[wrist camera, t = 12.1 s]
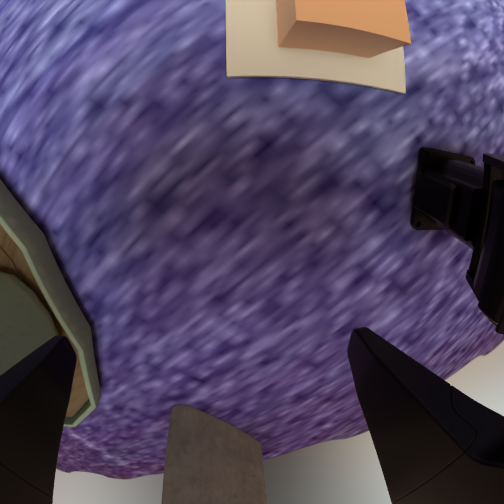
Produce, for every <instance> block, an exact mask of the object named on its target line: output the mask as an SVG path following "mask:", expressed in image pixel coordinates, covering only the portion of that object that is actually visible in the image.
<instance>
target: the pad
mask: <svg viewBox="0 0 504 504" xmlns="http://www.w3.org/2000/svg"><path fill="white" fill-rule="evenodd" d="M226 61H227V78H239V77H276V78H298V79H311V80H322V81H331V82H340V83H347V84H354V85H360V86H366V87H372V88H377V89H382V90H387V91H392V92H396V93H400V94H404V93H406V85H405V64H404V51H403V46H402V47H399V48H396V49H393V50H390V51H387V52H385V53H382V54H379V55H376V56H374V57H371V58H365V57H360V56H355V55H349V54H343V53H336V52H329V51H321V50H312V49H300V48H285V47H278V28H277V10H276V0H226Z"/></svg>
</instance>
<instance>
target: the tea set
mask: <svg viewBox="0 0 504 504" xmlns="http://www.w3.org/2000/svg"><path fill="white" fill-rule="evenodd" d="M56 335H62V336H66V337H67V338H68V339H69V341H70V343H71V345H72V347H73V349H74V351H75V352H76V355H77V362H76V367H75V372H74V378H73V384H72V390H71V395H70V400H69V405H68V409H67V413H66V417H65V422H64V426H68V427H76V426H77V425H78V424H79V423H80V422H81V421H82V420H83V419H84V418H85V417H86V416H87V415H88V414H90V413H91V412H92V411H93V410H94V409H95V408H96V407H97V405H98V402H99V399H100V396H101V393H100V385H99V380H98V374H97V369H96V363H95V356H94V349H93V342H92V334H91V327H90V325H89V323H88V322H87V320H86V318H85V317H84V315H83V313H82V311H81V310H80V308H79V306H78V304H77V303H76V301H75V299H74V297H73V295H72V293H71V291H70V289H69V288H68V286H67V284H66V282H65V280H64V278H63V276H62V274H61V271H60V269H59V267H58V265H57V263H56V261H55V259H54V256H53V254H52V252H51V250H50V247H49V245H48V243H47V240H46V238H45V235H44V233H43V232H42V231H41V230H40V229H39V227H38V226H37V225H36V224H35V223H34V222H33V220H32V219H31V218H30V217H29V216H28V214H27V213H26V212H25V211H24V209H23V208H22V207H21V206H20V204H19V203H18V202H17V200H16V199H15V198H14V197H13V195H12V194H11V193H10V191H9V190H8V189H7V187H6V186H5V184H4V183H3V182H2V180H1V179H0V375H2V374H3V373H4V372H6V371H7V370H8V369H10V368H11V367H12V366H14V365H15V364H16V363H18V362H19V361H21V360H22V359H23V358H25V357H26V356H27V355H29V354H30V353H32V352H33V351H34V350H36V349H37V348H38V347H40V346H41V345H43V344H44V343H45V342H47V341H48V340H50V339H51V338H53V337H54V336H56Z"/></svg>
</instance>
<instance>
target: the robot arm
mask: <svg viewBox="0 0 504 504" xmlns="http://www.w3.org/2000/svg"><path fill="white" fill-rule="evenodd" d="M425 152H427V155H426V157H425ZM483 162H484V168H482V167H479V166H476V165H475V160H474V158H472V157H468V156H464V155H460V154H456V153H451V152H446V151H441V150H436V149H431V148H426V147H423V148H421V150H420V153H419V165H418V175H417V184H416V192H415V199H414V207H413V213H412V219H411V226H412V227H413V228H414V229H416V230H446V231H447V232H449V233H450V234H451V235H453V236H454V237H456V238H457V239H459V240H460V241H462V242H463V243H465V244H466V245H467V246H469V247H470V248H472V249H473V253H472V258H471V262H470V266H469V270H467V273H466V280H467V281H468V283H469V285H470V286H471V288H472V290H473V292H474V294H475V295H476V297H477V299H478V301H479V302H478V307H479V309H480V310H481V311H482V312H483V313H484V315H485V316H486V317H488V319H489V320H490V321H491V322H492V323H494V324H495V325H496V329H495V331H496V332H497V333H500V334H504V155H495V154H485V153H483ZM417 221H418V224H417V225H416V223H417ZM347 352H348V358H349V362H350V366H351V370H352V374H353V379H354V383H355V387H356V392H357V396H358V399H359V402H360V405H361V408H362V410H363V413H364V416H365V419H366V422H367V425H368V428H369V431H370V433H371V437H372V440H373V443H374V446H375V449H376V452H377V455H378V459H379V461H380V465H381V468H382V471H383V475H384V478H385V481H386V485H387V488H388V492H389V495H390V498H391V502H392V504H504V416H502V415H500V414H498V413H496V412H494V411H493V410H491V409H489V408H487V407H485V406H483V405H482V404H480V403H478V402H476V401H474V400H473V399H471V398H470V397H468V396H467V395H465V394H464V393H462V392H461V391H459V390H458V389H456V388H455V387H453V386H450V384H449V383H447V382H446V381H444V380H443V379H442V378H440V377H439V376H437V375H436V374H434V373H433V372H431V371H430V370H428V369H427V368H426V367H424V366H423V365H421V364H420V363H418V362H417V361H415V360H414V359H412V358H411V357H409V356H408V355H407V354H405V353H404V352H402V351H401V350H399V349H398V348H396V347H395V346H393V345H392V344H390V343H389V342H388V341H386V340H385V339H383V338H382V337H380V336H379V335H377V334H376V333H374V332H373V331H371V330H370V329H369V328H367V327H361V328H355V329H353V331H352V333H351V337H350V341H349V345H348V350H347ZM76 362H77V355H76V352H75V351H74V349H73V347H72V345H71V343H70V341H69V339H68V338H67V337H66V336H62V335H56V336H54V337H53V338H51V339H50V340H48V341H47V342H45V343H44V344H43V345H41V346H40V347H38V348H37V349H36V350H34V351H33V352H32V353H30V354H29V355H27V356H26V357H25V358H23V359H22V360H21V361H19V362H18V363H16V364H15V365H14V366H12V367H11V368H10V369H8V370H7V371H6V372H4V373H3V374H2V375H0V504H52V502H53V501H52V500H53V489H54V479H55V472H56V465H57V458H58V452H59V446H60V441H61V436H62V431H63V426H64V422H65V417H66V413H67V409H68V405H69V400H70V395H71V390H72V384H73V378H74V372H75V367H76Z"/></svg>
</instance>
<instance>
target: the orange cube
mask: <svg viewBox="0 0 504 504" xmlns="http://www.w3.org/2000/svg"><path fill="white" fill-rule="evenodd" d="M276 10H277V28H278V47H285V48H300V49H312V50H321V51H329V52H336V53H343V54H349V55H355V56H360V57H365V58H371V57H374V56H376V55H379V54H382V53H385V52H387V51H390V50H393V49H396V48H399V47H402V46H406V45H409V44H411V40H410V32H409V25H408V18H407V12H406V7H405V1H404V0H276Z"/></svg>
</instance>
